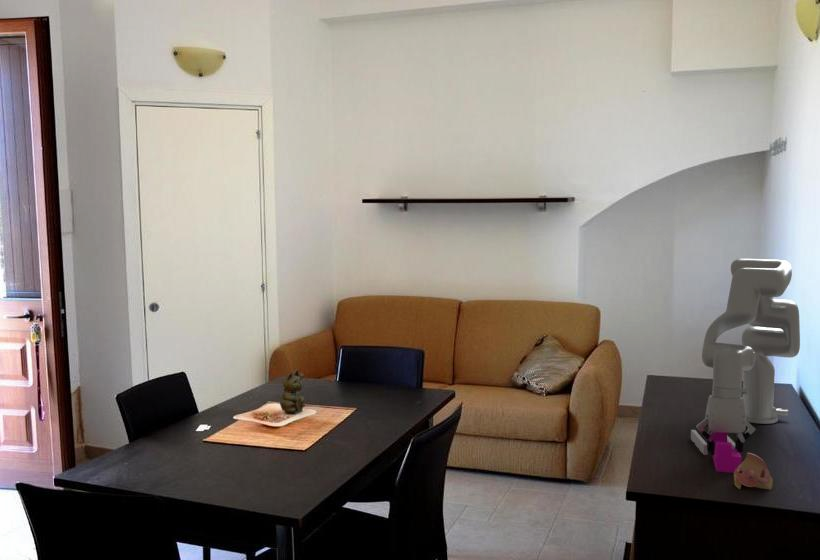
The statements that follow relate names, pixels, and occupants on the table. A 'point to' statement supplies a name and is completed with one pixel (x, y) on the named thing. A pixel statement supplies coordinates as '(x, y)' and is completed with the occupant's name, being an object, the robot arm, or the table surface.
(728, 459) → the toy block
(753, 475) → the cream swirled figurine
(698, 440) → the guide channel
